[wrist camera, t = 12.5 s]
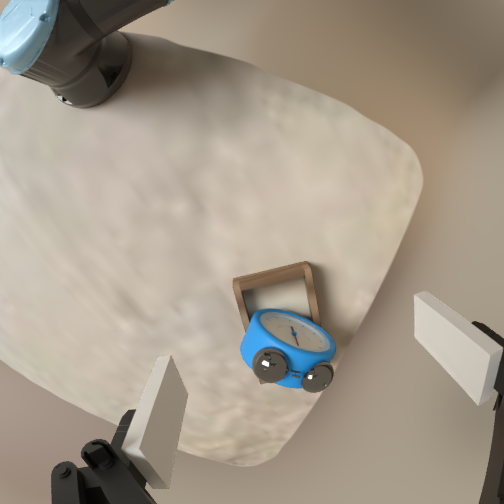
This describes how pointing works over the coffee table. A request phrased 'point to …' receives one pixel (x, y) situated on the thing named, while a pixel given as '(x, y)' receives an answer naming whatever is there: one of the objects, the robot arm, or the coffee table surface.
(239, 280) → the open rectangular wooden box
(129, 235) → the coffee table surface
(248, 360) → the alarm clock
